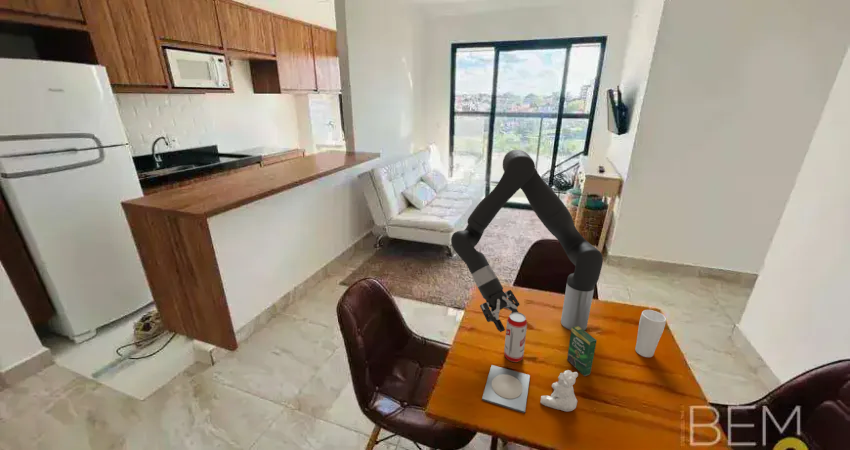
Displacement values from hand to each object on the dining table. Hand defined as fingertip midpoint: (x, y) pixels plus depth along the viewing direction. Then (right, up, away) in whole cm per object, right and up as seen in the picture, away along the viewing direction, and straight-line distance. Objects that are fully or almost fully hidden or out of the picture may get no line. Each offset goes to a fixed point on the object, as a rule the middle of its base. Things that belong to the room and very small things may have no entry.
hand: (511, 325), depth 110 cm
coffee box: (+21, -13, -2) cm, 25 cm away
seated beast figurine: (+10, -18, -15) cm, 25 cm away
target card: (-4, -16, -10) cm, 19 cm away
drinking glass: (+46, -10, +4) cm, 47 cm away
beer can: (+1, -11, +2) cm, 12 cm away
